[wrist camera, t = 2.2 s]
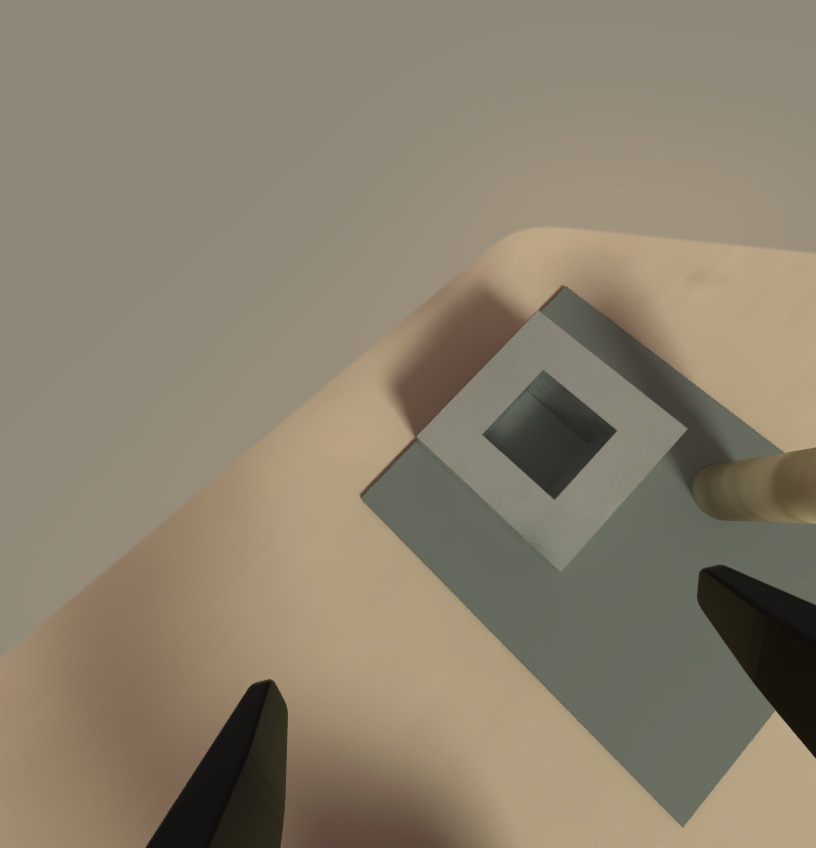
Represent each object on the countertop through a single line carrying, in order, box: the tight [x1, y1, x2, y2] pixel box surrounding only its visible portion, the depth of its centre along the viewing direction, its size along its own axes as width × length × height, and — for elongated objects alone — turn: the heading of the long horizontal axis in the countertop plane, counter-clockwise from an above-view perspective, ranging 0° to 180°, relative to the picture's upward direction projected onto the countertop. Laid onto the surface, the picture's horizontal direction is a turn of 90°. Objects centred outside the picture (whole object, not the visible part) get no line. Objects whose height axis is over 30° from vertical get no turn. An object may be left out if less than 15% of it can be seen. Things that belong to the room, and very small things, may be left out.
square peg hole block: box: [416, 311, 687, 572], centre depth 22 cm, size 9×9×4 cm
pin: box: [692, 448, 816, 524], centre depth 17 cm, size 3×3×12 cm
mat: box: [361, 286, 816, 827], centre depth 23 cm, size 22×18×1 cm
